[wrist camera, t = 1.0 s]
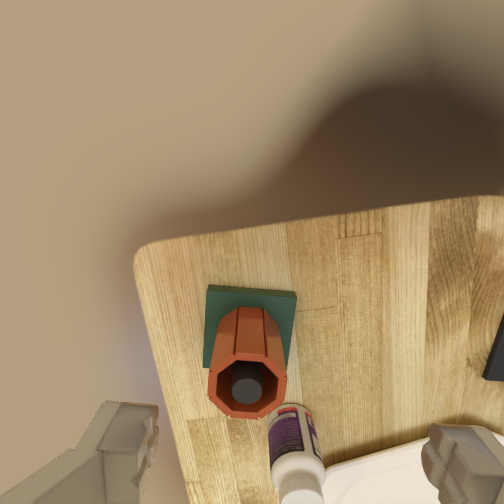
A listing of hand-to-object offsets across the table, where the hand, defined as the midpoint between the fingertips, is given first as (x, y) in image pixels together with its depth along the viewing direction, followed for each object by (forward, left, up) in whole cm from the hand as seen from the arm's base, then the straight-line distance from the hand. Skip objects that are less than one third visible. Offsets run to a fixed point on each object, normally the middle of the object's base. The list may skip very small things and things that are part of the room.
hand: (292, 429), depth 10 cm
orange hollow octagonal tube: (+10, -1, -22) cm, 24 cm away
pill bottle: (+22, +5, -23) cm, 32 cm away
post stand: (+10, -1, -23) cm, 25 cm away
